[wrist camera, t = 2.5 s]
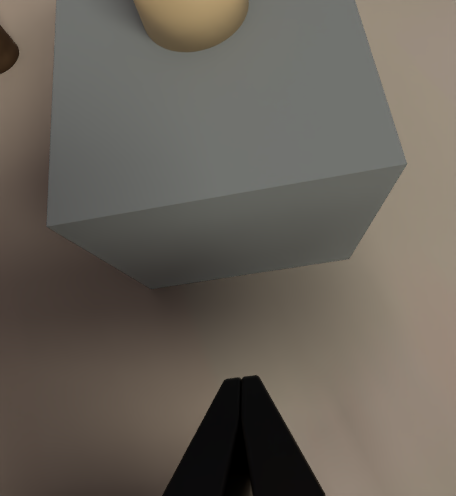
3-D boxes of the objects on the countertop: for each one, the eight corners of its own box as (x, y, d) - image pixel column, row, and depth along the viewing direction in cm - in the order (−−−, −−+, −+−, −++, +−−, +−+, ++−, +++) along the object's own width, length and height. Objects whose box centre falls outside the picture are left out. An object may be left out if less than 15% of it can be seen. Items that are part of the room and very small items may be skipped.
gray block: (348, 259, 18) (437, 113, 8) (151, 289, 19) (-6, 195, 9) (297, 43, 23) (309, -233, 12) (140, 75, 24) (28, -154, 13)
